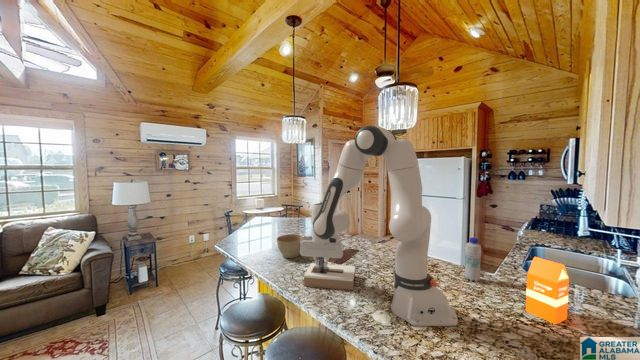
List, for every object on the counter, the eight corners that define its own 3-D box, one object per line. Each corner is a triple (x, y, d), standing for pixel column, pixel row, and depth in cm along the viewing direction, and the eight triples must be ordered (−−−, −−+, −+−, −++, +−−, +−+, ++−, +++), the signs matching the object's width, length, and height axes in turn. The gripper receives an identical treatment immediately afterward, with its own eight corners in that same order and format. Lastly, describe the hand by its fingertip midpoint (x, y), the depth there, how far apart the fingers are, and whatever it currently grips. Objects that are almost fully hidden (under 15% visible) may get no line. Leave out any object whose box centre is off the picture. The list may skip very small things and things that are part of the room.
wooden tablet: (347, 246, 164) (361, 247, 158) (347, 249, 164) (361, 250, 158) (324, 259, 142) (339, 261, 136) (325, 263, 142) (340, 265, 136)
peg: (327, 276, 121) (327, 254, 120) (326, 281, 116) (325, 258, 115) (317, 275, 122) (317, 253, 121) (315, 280, 117) (315, 257, 116)
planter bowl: (305, 251, 158) (305, 234, 158) (301, 261, 142) (301, 242, 142) (280, 250, 160) (280, 233, 159) (273, 260, 144) (273, 241, 143)
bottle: (482, 279, 118) (483, 237, 116) (479, 284, 113) (480, 240, 111) (466, 275, 122) (467, 234, 121) (462, 279, 117) (463, 237, 116)
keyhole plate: (355, 276, 122) (355, 266, 122) (353, 290, 109) (353, 279, 108) (311, 272, 127) (311, 263, 127) (304, 285, 113) (304, 275, 113)
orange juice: (555, 324, 84) (558, 266, 83) (525, 310, 92) (527, 257, 91) (567, 318, 88) (570, 262, 86) (537, 305, 96) (539, 254, 94)
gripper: (297, 237, 116) (298, 266, 117) (341, 239, 112) (342, 270, 113) (301, 234, 122) (302, 261, 123) (343, 235, 118) (343, 264, 119)
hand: (321, 265), depth 118 cm, fingers closed on peg, 2 cm apart
